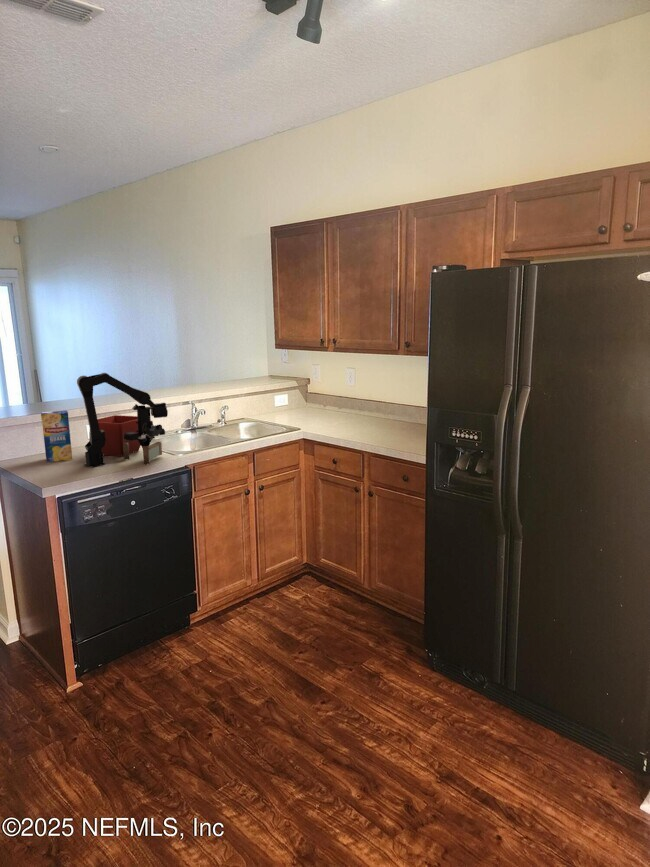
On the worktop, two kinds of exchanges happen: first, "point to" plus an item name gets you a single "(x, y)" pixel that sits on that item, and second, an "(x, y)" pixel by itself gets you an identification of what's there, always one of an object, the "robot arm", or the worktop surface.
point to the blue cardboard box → (56, 435)
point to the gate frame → (145, 453)
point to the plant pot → (118, 434)
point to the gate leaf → (155, 450)
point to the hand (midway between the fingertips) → (145, 452)
